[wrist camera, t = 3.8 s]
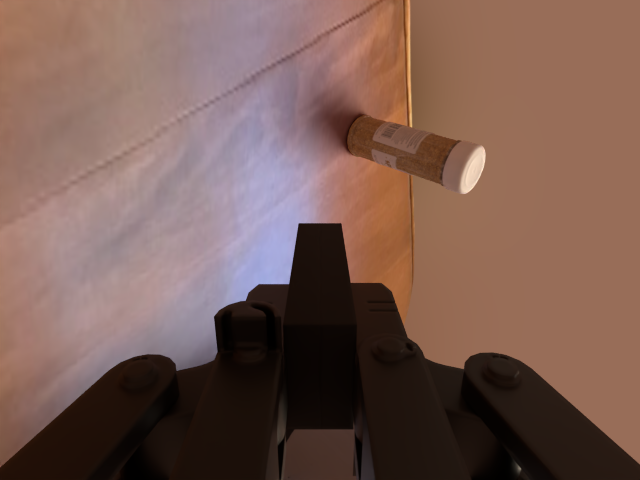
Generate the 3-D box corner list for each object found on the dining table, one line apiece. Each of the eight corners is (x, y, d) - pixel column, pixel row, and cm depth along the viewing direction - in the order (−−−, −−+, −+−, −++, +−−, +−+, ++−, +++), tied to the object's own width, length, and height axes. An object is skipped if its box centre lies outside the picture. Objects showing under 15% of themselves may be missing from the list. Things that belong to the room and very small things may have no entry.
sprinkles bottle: (344, 160, 44) (456, 202, 36) (346, 118, 42) (466, 153, 34) (371, 149, 47) (481, 185, 39) (374, 109, 44) (492, 139, 37)
